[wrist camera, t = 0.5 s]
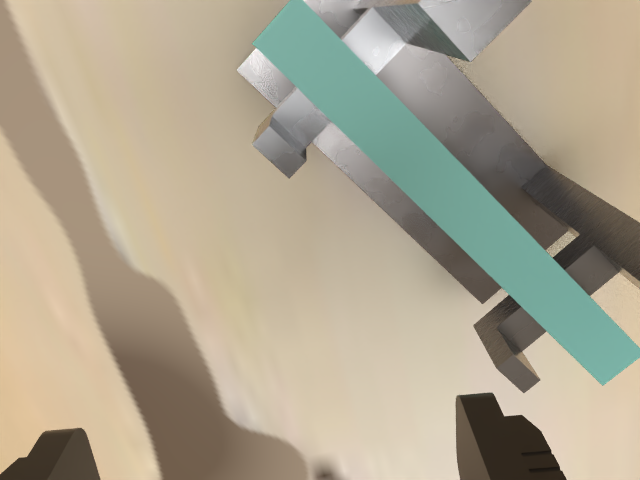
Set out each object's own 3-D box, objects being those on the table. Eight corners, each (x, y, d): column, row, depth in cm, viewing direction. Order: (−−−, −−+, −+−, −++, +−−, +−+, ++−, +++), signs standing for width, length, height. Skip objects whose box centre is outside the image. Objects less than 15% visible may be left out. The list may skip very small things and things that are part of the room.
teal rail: (296, -5, 24) (296, -7, 21) (618, 327, 30) (644, 353, 27) (256, 40, 24) (252, 43, 22) (580, 358, 30) (602, 385, 28)
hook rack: (344, -52, 34) (408, -148, 13) (579, 205, 39) (866, 404, 19) (239, 67, 36) (158, 137, 16) (476, 294, 42) (639, 556, 21)
